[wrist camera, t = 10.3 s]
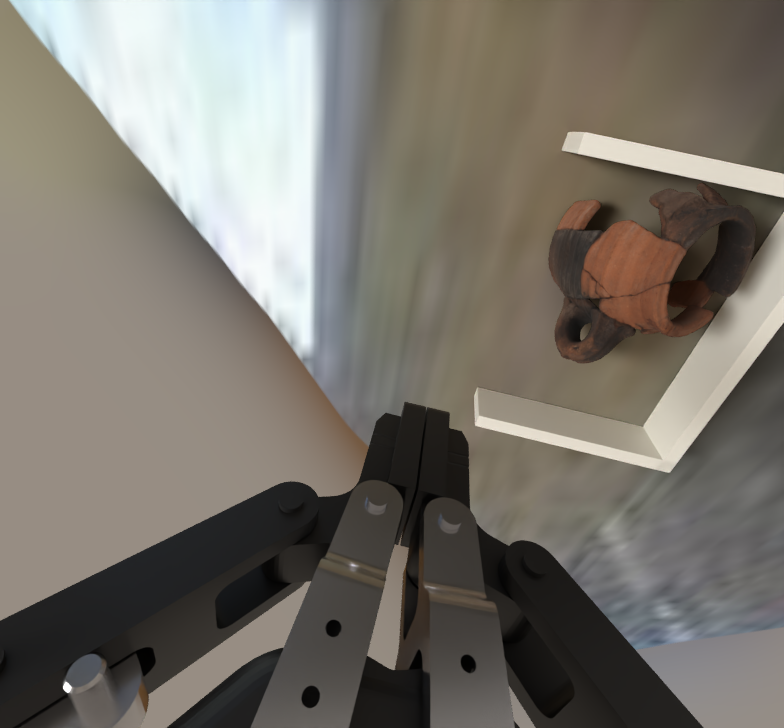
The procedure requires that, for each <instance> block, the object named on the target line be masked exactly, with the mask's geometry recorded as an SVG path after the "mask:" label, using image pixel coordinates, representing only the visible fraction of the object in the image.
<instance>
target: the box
mask: <svg viewBox="0 0 784 728" xmlns="http://www.w3.org/2000/svg"><path fill="white" fill-rule="evenodd" d="M562 151H567V152H571V153H576V154H581V155H586V156H590V157H595V158H600V159H604V160H609V161H614V162H618V163H623V164H628V165H632V166H637V167H642V168H646V169H651V170H656V171H661V172H665V173H670V174H675V175H679V176H684V177H689V178H693V179H698V180H703V181H707V182H712V183H717V184H722V185H726V186H731V187H736V188H740V189H745V190H750V191H754V192H759V193H764V194H768V195H773V196H778V197H782V198H784V174H781V173H776V172H772V171H767V170H762V169H758V168H753V167H748V166H743V165H739V164H734V163H729V162H724V161H720V160H715V159H710V158H705V157H701V156H696V155H691V154H686V153H682V152H677V151H672V150H667V149H663V148H658V147H653V146H648V145H644V144H639V143H634V142H629V141H625V140H620V139H615V138H611V137H606V136H601V135H596V134H592V133H587V132H568V134H567V137H566V140H565V142H564V145H563V148H562ZM783 323H784V212H783V214H782V215H781V217H780V218H779V220H778V221H777V223H776V225H775V226H774V228H773V229H772V231H771V232H770V234H769V235H768V237H767V238H766V240H765V241H764V243H763V244H762V246H761V247H760V249H759V250H758V252H757V254H756V255H755V257H754V258H753V260H752V261H751V263H750V265H749V267H748V270H747V272H746V274H745V276H744V278H743V280H742V282H741V284H740V285H739V287H738V289H737V290H736V291H735V293H733V294H732V295H731V296H730V297H728V298H727V299H726V301H725V302H724V304H723V305H722V307H721V308H720V310H719V311H718V313H717V315H716V316H715V318H714V319H713V321H712V322H711V324H710V325H709V327H708V328H707V330H706V331H705V333H704V334H703V336H702V337H701V339H700V340H699V342H698V343H697V345H696V347H695V348H694V350H693V351H692V353H691V354H690V356H689V357H688V359H687V360H686V362H685V363H684V365H683V366H682V368H681V369H680V371H679V372H678V374H677V376H676V377H675V379H674V380H673V382H672V383H671V385H670V386H669V388H668V389H667V391H666V392H665V394H664V395H663V397H662V398H661V400H660V401H659V403H658V404H657V406H656V408H655V409H654V411H653V412H652V414H651V415H650V417H649V418H648V420H647V421H646V423H645V424H644V426H643V427H642V426H638V425H634V424H630V423H625V422H621V421H617V420H613V419H609V418H604V417H600V416H596V415H592V414H588V413H584V412H579V411H575V410H571V409H567V408H563V407H559V406H554V405H550V404H546V403H542V402H538V401H534V400H529V399H525V398H521V397H517V396H513V395H508V394H504V393H500V392H496V391H492V390H488V389H483V388H479V387H477V390H476V393H475V396H474V405H475V426H479V427H483V428H487V429H491V430H495V431H499V432H504V433H508V434H512V435H516V436H520V437H524V438H528V439H532V440H536V441H540V442H545V443H549V444H553V445H557V446H561V447H565V448H569V449H573V450H577V451H582V452H586V453H590V454H594V455H598V456H602V457H606V458H610V459H614V460H618V461H623V462H627V463H631V464H635V465H639V466H643V467H647V468H651V469H655V470H659V471H664V472H668V473H670V471H671V470H672V469H673V468H674V466H675V465H676V464H677V462H678V461H679V460H680V458H681V457H682V456H683V454H684V453H685V452H686V450H687V449H688V448H689V446H690V445H691V444H692V443H693V441H694V440H695V439H696V437H697V436H698V435H699V433H700V432H701V431H702V429H703V428H704V427H705V425H706V424H707V423H708V421H709V420H710V419H711V417H712V416H713V415H714V414H715V412H716V411H717V410H718V408H719V407H720V406H721V404H722V403H723V402H724V400H725V399H726V398H727V396H728V395H729V394H730V392H731V391H732V390H733V388H734V387H735V386H736V385H737V383H738V382H739V381H740V379H741V378H742V377H743V375H744V374H745V373H746V371H747V370H748V369H749V367H750V366H751V365H752V363H753V362H754V361H755V359H756V358H757V357H758V356H759V354H760V353H761V352H762V350H763V349H764V348H765V346H766V345H767V344H768V342H769V341H770V340H771V338H772V337H773V336H774V334H775V333H776V332H777V330H778V329H779V328H780V327H781V325H782V324H783Z"/></svg>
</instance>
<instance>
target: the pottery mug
mask: <svg viewBox="0 0 784 728" xmlns="http://www.w3.org/2000/svg"><path fill="white" fill-rule="evenodd" d="M697 190H698V191H699V192H700V193H701V194H702V196H703V198H702V197H701V196H699V195H696V194H694V193H691V192H678V191H676V190H674V189H666V190H663V191H661V192H658V193H656V194H654V195H653V196H651V197H650V199H649V201H650V203H651V204H652V205H653V206H654V207H656V208H658V209H659V215H660V219H661V225H662V227H661V237H658V236H656V235H655V234H654V233H652V232H650V231H648V230H646V229H645V228H644V227H642V226H640V225H639V224H637V223H636V222H634V221H632V220H628V221H619V222H616V223H614V224H613V225H612V226H610V227H609V228H608V229H607V230H606V231H605V232H603V231H602V230H592V231H587V230H586V231H584V229H585V228H586V226H587V224H588V222H589V221H590V220H591V218H592V217H593V216H594V215H595V213H596V212H597V211H598V210H599V209H600V207H601V204H600V202H599V201H597V200H589V201H577V202H575V203H574V204H573V205H572V206H571V207H570V208H569V209H568V210H567V212H566V213H565V215H564V216H563V218H562V219H561V221H560V223H559V225H558V227H557V230H556V231H555V233H554V236H553V239H552V243H551V245H550V252H549V268H550V271H551V275H552V277H553V279H554V281H555V282H556V284H557V285H558V286H559V288H560V289H561V291H562V292H563V294H564V296H565V298H564V305H563V308H562V311H561V313H560V316H559V318H558V320H557V323H556V327H555V342H556V345H557V349H558V350H559V352H560V354H561V356H562V357H563V358H566V359H571V360H573V361H576V362H577V363H590V362H594V361H597V360H599V359H601V358H602V357H604V356H605V355H606V354H607V353H609V352H610V351H611V350H612V349H613V348H614V347H615V346H616V345H617V344H618V343H619V342H620V341H621V340H623V339H625V338H627V337H630V336H633V335H634V334H635V332H636V330H635V328H636V329H640V330H641V333H642V334H651V333H656V332H661V333H662V334H664V335H667V336H670V337H680V336H685V335H688V334H690V333H693V332H694V331H696V330H698V329H700V328H701V327H703V326H704V325H705V324H707V323H708V322H709V321H710V320H711V319H712V318H713V312H712V311H710V310H706V309H703V308H702V307H703V306H704V305H705V304H706V303H707V302H708V300H709V299H710V297H711V296H712V294H713V293H714V291H716V292H718V293H720V294H722V295H723V296H725V297H730V296H731V295H732V294H733V293H735V291H736V290H737V289H738V287H739V285H740V284H741V282H742V280H743V278H744V276H745V274H746V272H747V270H748V267H749V265H750V261H751V259H752V255H753V252H754V245H755V241H754V239H755V235H756V226H755V224H754V219H753V216H752V214H751V213H750V212H749V210H748V209H746V208H743V207H742V206H739V205H737V206H728V204H727V202H726V200H725V199H723V198H722V197H721V195H720V194H719V193H717V191H715V190H714V189H713V188H711V187H709V186H708V185H706V184H704V183H699V184H698V186H697ZM721 222H722V224H720V226H719V232H718V233H719V234H718V243H717V247H716V252H715V254H714V255H713V257H712V259H711V261H710V262H709V263H708V265H707V266H706V267H705V269H704V270H703V272H702V273H701V274H700V275H699V277H698V279H697V280H687V281H680V282H676V283H675V284H674V285H673V286H672V288H671V290H670V292H669V289H670V282H671V280H672V279H673V277H674V274H675V272H676V270H677V268H678V266H679V264H680V263H681V261H682V259H683V257H684V256H685V255H686V252H687V250H688V249H689V248H690V247H691V246H692V245H693V244H694V243H695V242H696V241H697V240H698V239H699V238H700V237H701V236H702V235H703V234H704V233H705V232H706V231H707V230H709V229H710V228H712V227H713V226H715V225H717V224H719V223H721ZM668 293H669V294H668ZM588 298H591V299H598V298H599V299H600V302H599V308H598V307H597V306H596V305H595V304H594V303H593V302H592V301H591V300H590V299H588ZM667 303H668V304H669V305H670V306H672V307H682V308H686V309H685V310H684V311H683V312H682V313H680V314H679V315H678V316H677V317H675V318H674V319H672V320H670V319H669V315H668V310H667ZM588 323H592V326H591V329H590V332H589V333H588V335H587V336H586V338H585V339H583V340H582V341H581V340H580V331H581V329H582V327H583V326H584V325H585V324H588Z"/></svg>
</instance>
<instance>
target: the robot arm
mask: <svg viewBox="0 0 784 728" xmlns="http://www.w3.org/2000/svg"><path fill="white" fill-rule="evenodd" d="M449 416H450V414H449V412H446V411H441V410H437V409H433V408H429V407H427V410H426V407H425V406H421V405H416V404H412V403H408V402H405V403H404V406H403V410H402V414H401V416H396V415H392V414H388V413H385V414H384V415H383V416H382V417H381V418H380V419H378V420H377V421H376V425H375V428H374V432H373V435H372V438H371V442H370V445H369V449H368V452H367V456H366V459H365V463H364V466H363V469H362V473H361V476H360V479H359V482H358V483H357V485H356V486H355V487H354V488H353V489H352V490H351V491H349V492H347V493H345V494H342V495H338V496H330V497H318V496H317V494H316V492H315V491H314V490H313V489H312V488H311V487H309V486H308V485H306V484H303V483H300V482H284V483H280V484H278V485H276V486H274V487H272V488H270V489H268V490H265V491H263V492H261V493H259V494H257V495H255V496H253V497H251V498H249V499H247V500H245V501H243V502H241V503H239V504H237V505H235V506H233V507H231V508H229V509H227V510H225V511H223V512H221V513H219V514H217V515H215V516H213V517H210V518H209V519H207V520H204V521H202V522H201V523H198V524H196V525H194V526H192V527H190V528H188V529H186V530H184V531H182V532H180V533H178V534H176V535H174V536H172V537H170V538H168V539H166V540H164V541H162V542H160V543H158V544H156V545H153V546H151V547H149V548H147V549H145V550H143V551H141V552H140V553H137V554H135V555H133V556H131V557H129V558H127V559H125V560H123V561H121V562H119V563H117V564H115V565H113V566H111V567H109V568H107V569H105V570H103V571H101V572H99V573H96V574H94V575H92V576H90V577H88V578H86V579H84V580H82V581H80V582H78V583H76V584H74V585H72V586H70V587H68V588H66V589H64V590H62V591H60V592H58V593H56V594H54V595H52V596H50V597H48V598H46V599H44V600H42V601H40V602H37V603H35V604H33V605H31V606H30V607H27V608H25V609H23V610H21V611H19V612H17V613H15V614H13V615H11V616H9V617H7V618H5V619H3V620H1V621H0V728H140V726H141V724H142V723H143V720H144V718H145V715H146V712H147V708H148V702H149V694H150V693H151V692H153V691H154V690H155V689H157V688H158V687H159V686H161V685H162V684H164V683H165V682H167V681H168V680H170V679H171V678H172V677H174V676H175V675H177V674H178V673H179V672H181V671H182V670H184V669H185V668H187V667H188V666H189V665H191V664H192V663H194V662H195V661H197V660H198V659H199V658H201V657H202V656H204V655H205V654H206V653H208V652H209V651H211V650H212V649H213V648H215V647H216V646H218V645H219V644H221V643H222V642H223V641H225V640H226V639H228V638H229V637H231V636H232V635H233V634H235V633H236V632H237V631H239V630H240V629H242V628H243V627H245V626H246V625H248V624H249V623H250V622H252V621H253V620H255V619H256V618H258V617H259V616H260V615H262V614H263V613H264V612H266V611H268V610H269V609H270V608H272V607H273V606H274V605H276V604H277V603H279V602H280V601H282V600H283V599H285V598H286V597H287V596H289V595H290V594H292V593H293V592H294V591H296V590H297V589H299V588H300V587H301V586H302V585H303V584H304V583H305V582H306V581H311V584H310V586H309V588H308V591H307V593H306V596H305V598H304V600H303V603H302V605H301V608H300V610H299V613H298V615H297V617H296V620H295V622H294V624H293V627H292V629H291V632H290V634H289V636H288V639H287V641H286V644H285V646H284V648H280V649H276V650H273V651H270V652H267V653H265V654H263V655H261V656H259V657H257V658H254V659H253V660H251V661H250V662H248V663H247V664H245V665H243V666H242V667H241V668H240V669H238V670H237V671H235V672H234V673H233V674H232V675H231V676H229V677H228V678H227V679H226V680H224V681H223V682H222V683H221V684H220V685H218V686H217V687H216V688H215V689H213V690H212V691H211V692H210V693H209V694H208V695H206V696H205V697H204V698H202V699H201V700H200V701H199V702H198V703H196V704H195V705H194V706H193V707H191V708H190V709H189V710H188V711H187V712H185V713H184V714H183V715H182V716H180V717H179V718H178V719H177V720H176V721H174V722H173V723H172V724H171V725H169V726H168V727H167V728H519V726H518V725H517V724H516V723H515V721H514V718H513V712H512V705H511V698H510V691H509V686H510V687H511V689H512V691H513V692H514V694H515V695H516V697H517V699H518V700H519V702H520V703H521V705H522V707H523V708H524V710H525V711H526V713H527V715H528V716H529V718H530V719H531V721H532V722H533V724H534V726H535V727H536V728H703V727H702V726H701V724H700V723H699V722H698V721H697V720H696V719H695V718H694V716H693V715H692V714H691V713H690V712H689V711H688V710H687V708H686V707H685V706H684V705H683V704H682V703H681V702H680V700H679V699H678V698H677V697H676V696H675V695H674V694H673V693H672V691H671V690H670V689H669V688H668V687H667V686H666V685H665V684H664V682H663V681H662V680H661V679H660V678H659V676H658V675H657V674H656V673H655V672H654V671H653V670H652V669H651V667H650V666H649V665H648V664H647V663H646V662H645V661H644V660H643V658H642V657H641V656H640V655H639V654H638V653H637V651H636V650H635V649H634V648H633V647H632V646H631V645H630V643H629V642H628V641H627V640H626V639H625V638H624V637H623V635H622V634H621V633H620V632H619V631H618V630H617V629H616V627H615V626H614V625H613V624H612V623H611V622H610V621H609V619H608V618H607V617H606V616H605V615H604V614H603V613H602V611H601V610H600V609H599V608H598V607H597V606H596V605H595V604H594V602H593V601H592V600H591V599H590V598H589V597H588V596H587V594H586V593H585V592H584V591H583V590H582V589H581V588H580V586H579V585H578V584H577V583H576V582H575V581H574V580H573V578H572V577H571V576H570V575H569V574H568V573H567V572H566V570H565V569H564V568H563V567H562V566H561V565H560V564H559V562H558V561H557V560H556V559H555V558H554V557H553V556H552V555H551V554H550V553H549V552H548V551H547V550H546V549H545V548H543V547H542V546H540V545H538V544H536V543H533V542H530V541H524V540H521V541H516V542H514V543H512V544H511V545H510V546H508V545H506V544H504V543H502V542H501V541H499V540H497V539H495V538H493V537H492V536H490V535H489V534H487V533H486V532H485V531H483V530H482V529H481V528H480V527H479V526H478V524H477V523H476V520H475V517H474V515H473V514H472V512H471V511H470V495H469V469H468V468H469V458H468V457H469V447H468V442H467V440H466V438H465V436H464V434H463V433H462V431H458V430H454V429H450V428H449ZM401 534H402V538H401V546H405V547H409V551H408V558H407V563H406V566H405V568H404V571H403V580H402V600H401V618H400V636H399V649H398V655H397V660H396V665H395V670H391V669H389V668H387V667H385V666H383V665H382V664H380V663H378V662H377V661H375V660H373V659H372V658H370V657H368V656H367V653H368V649H369V645H370V641H371V637H372V633H373V629H374V625H375V621H376V617H377V613H378V609H379V605H380V601H381V597H382V593H383V589H384V585H385V581H386V574H387V569H388V565H389V562H390V558H391V554H392V552H393V548H394V545H395V544H396V545H398V543H399V540H400V537H401Z"/></svg>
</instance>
